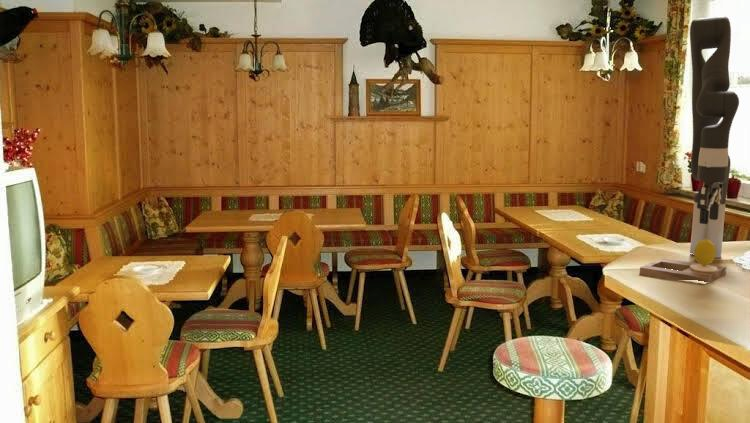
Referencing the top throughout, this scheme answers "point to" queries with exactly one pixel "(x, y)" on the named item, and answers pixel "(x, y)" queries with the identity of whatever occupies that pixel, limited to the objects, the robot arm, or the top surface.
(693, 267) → the saucer
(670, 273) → the pocket board
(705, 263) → the lemon
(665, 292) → the top surface
